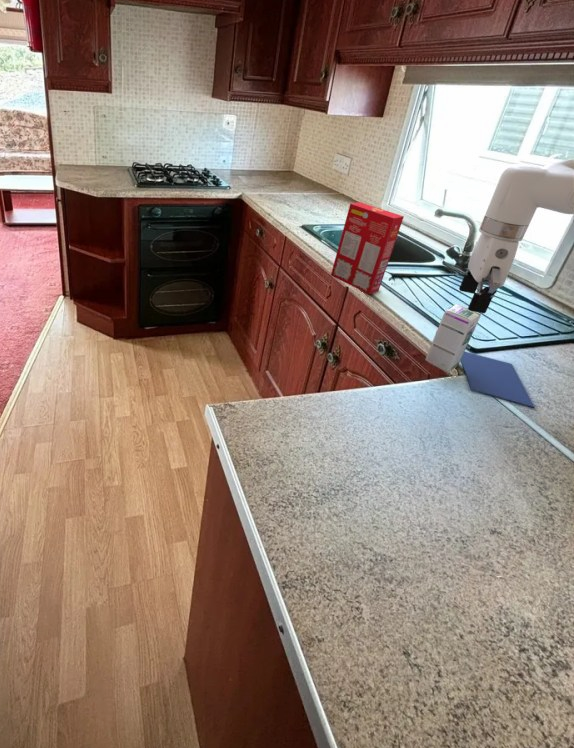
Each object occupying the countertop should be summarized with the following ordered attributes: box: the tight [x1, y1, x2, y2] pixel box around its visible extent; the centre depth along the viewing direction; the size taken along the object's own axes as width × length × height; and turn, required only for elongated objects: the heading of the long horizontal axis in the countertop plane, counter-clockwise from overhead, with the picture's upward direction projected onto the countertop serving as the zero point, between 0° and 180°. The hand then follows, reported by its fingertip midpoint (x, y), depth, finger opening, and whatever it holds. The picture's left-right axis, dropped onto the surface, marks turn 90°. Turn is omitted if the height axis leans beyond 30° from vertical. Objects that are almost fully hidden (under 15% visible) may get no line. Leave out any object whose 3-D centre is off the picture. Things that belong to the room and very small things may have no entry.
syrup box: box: [424, 303, 482, 374], centre depth 94 cm, size 6×6×14 cm
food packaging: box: [330, 201, 404, 295], centre depth 127 cm, size 15×5×25 cm, turn 37°
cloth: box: [460, 351, 535, 409], centre depth 94 cm, size 12×16×1 cm
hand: (471, 301), depth 89 cm, fingers open, 9 cm apart
